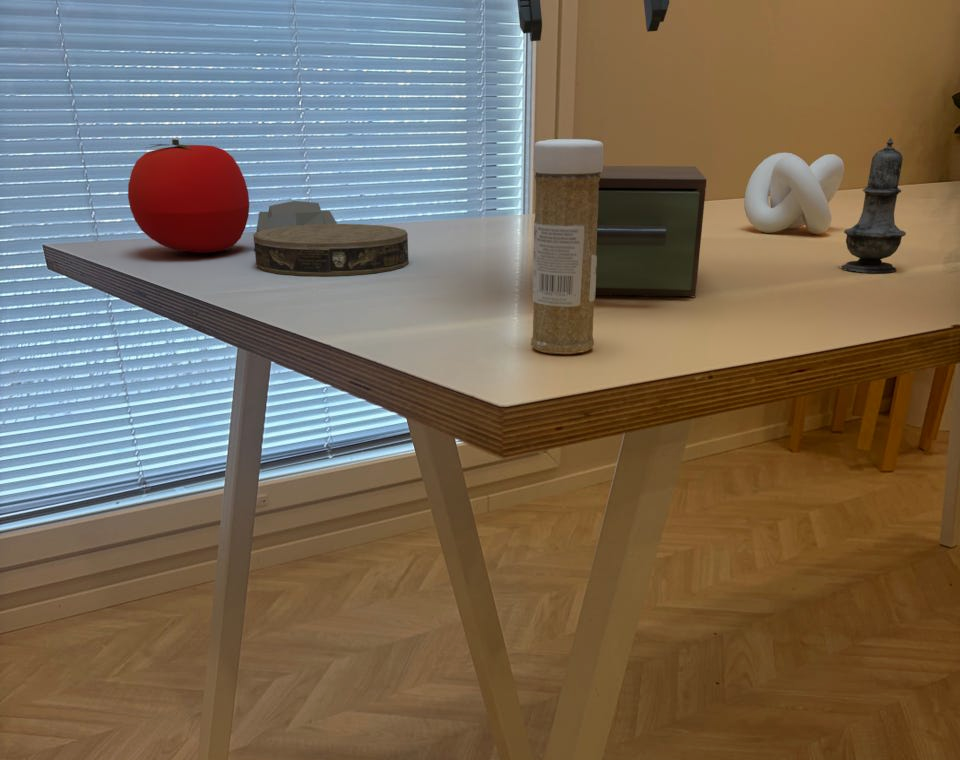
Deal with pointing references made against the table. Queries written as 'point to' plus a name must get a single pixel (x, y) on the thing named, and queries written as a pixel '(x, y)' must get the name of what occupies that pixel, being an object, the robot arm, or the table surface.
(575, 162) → the sprinkles bottle
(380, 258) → the tin can
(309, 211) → the soap mold
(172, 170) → the tomato
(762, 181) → the white knot sculpture
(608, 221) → the drawer
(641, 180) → the cabinet
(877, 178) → the salt shaker
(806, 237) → the table surface
